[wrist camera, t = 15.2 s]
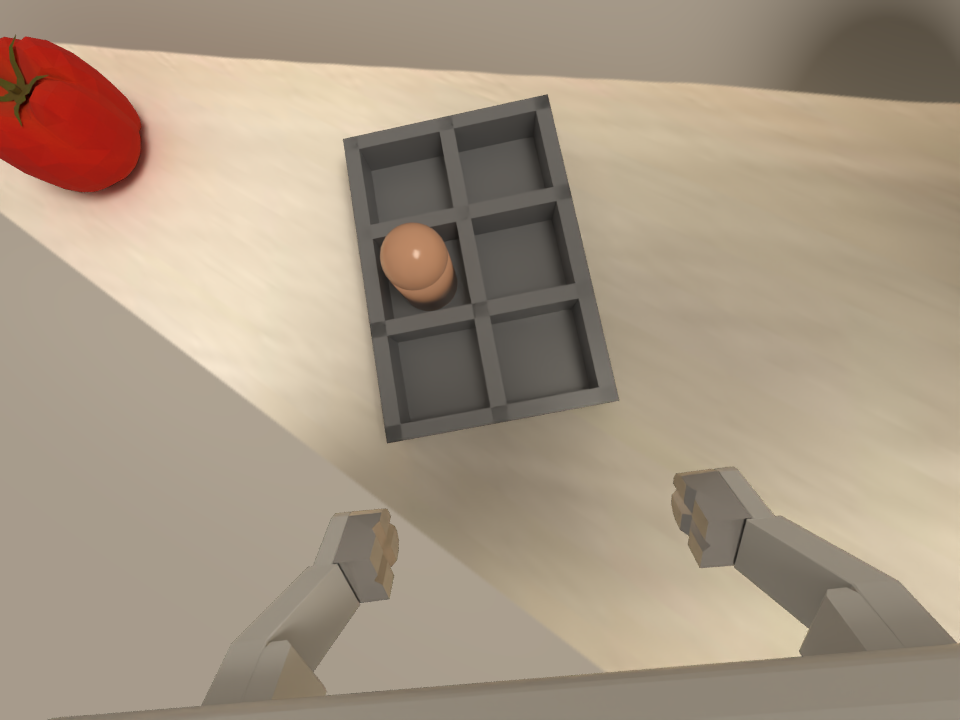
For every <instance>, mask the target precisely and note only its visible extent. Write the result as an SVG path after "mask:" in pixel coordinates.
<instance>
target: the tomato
mask: <svg viewBox="0 0 960 720" xmlns="http://www.w3.org/2000/svg"><path fill="white" fill-rule="evenodd" d="M15 38H16V36H15V37H14V38H8V37H3V38H0V159H2V160H4V161H5V162H7V163H9V164H11V165H12V166H14V167H16V168H17V169H19V170H21V171H22V172H24V173H26V174H28V175H31V176H33V177H36V178H38V179H40V180H43V181H45V182H48V183H50V184H53V185H56V186H58V187H61V188H64V189H68V190H73V191H78V192H95V191H98V190H101V189H104V188H107V187H109V186H111V185H113V184H115V183H117V182H118V181H120V180H122V179H124V178H126V177H127V176H128V175H129V174H130V172H131V171H132V170H133V169H134V168H135V167H136V164H137V161H138V159H139V156H140V141H141V137H140V134H139V131H140V129H141V123H140V118H139V116H138V114H137V112H136V110H135V109H134V108H133V106H132V105H131V103H130V102H129V100H128V99H127V98H126V97H125V96H124V95H123V94H122V93H121V92H120V91H119V90H118V89H117V88H116V87H115V86H114V85H113V84H112V83H111V82H110V81H109V80H107V79H106V78H105V77H104V76H103V75H102V74H101V73H99V72H98V71H97V70H96V69H94V68H93V67H92V66H90V65H89V64H87V63H86V62H85V61H83V60H82V59H80V58H79V57H78V56H76V55H75V54H74V53H72V52H70V51H68V50H66V49H64V48H62V47H59V46H57V45H55V44H53V43H51V42H49V41H47V40H41V39H36V38H31V37H24V38H23V39H22V40H19V39H15Z"/></svg>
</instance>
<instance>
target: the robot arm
mask: <svg viewBox="0 0 960 720" xmlns="http://www.w3.org/2000/svg"><path fill="white" fill-rule="evenodd" d="M673 484H674V486H675V488H676V491H675V492H674V493H673V494H672V499H671V505H672V511H673V515H674V517H675V520H676V523H677V525H678V527H679V529H680V530H681V531H683V532H684V533H686V534H687V535H688V536H689V539H688V546H689V548H690V550H691V552H692V554H693V556H694V558H695V560H696V562H697V563H698V565H699V567H700V568H707V567H721V566H734V568H736V569H737V570H738V571H739V572H740V573H742V574H743V575H744V576H745V577H747V578H748V579H749V580H750V581H751V582H753V583H754V584H755V585H756V586H757V587H759V588H760V589H761V590H762V591H764V592H765V593H766V594H767V595H768V596H770V597H771V598H772V599H773V600H775V601H776V602H777V603H778V604H779V605H781V606H782V607H783V608H784V609H785V610H787V611H788V612H789V613H790V614H792V615H793V616H794V617H795V618H796V619H798V620H799V621H800V622H801V623H802V624H804V625H805V626H806V627H807V628H809V630H808V632H807V634H806V636H805V638H804V640H803V643H802V645H801V647H800V650H799V652H800V654H801V655H802V656H801V657H789V658H777V659H765V660H752V661H740V662H728V663H716V664H704V665H691V666H679V667H667V668H655V669H642V670H630V671H618V672H606V673H594V674H581V675H569V676H558V677H545V678H533V679H521V680H509V681H496V682H484V683H472V684H460V685H449V686H436V687H424V688H411V689H399V690H387V691H375V692H363V693H351V694H340V695H328V696H325V695H326V689H325V687H324V685H323V684H322V683H321V681H320V680H319V679H318V677H317V676H316V675H315V674H314V673H313V672H314V670H315V669H316V668H317V666H318V665H319V663H320V662H321V660H322V659H323V657H324V656H325V655H326V653H327V652H328V650H329V649H330V647H331V646H332V645H333V643H334V642H335V640H336V639H337V637H338V636H339V635H340V633H341V632H342V630H343V629H344V627H345V626H346V624H347V623H348V622H349V620H350V619H351V617H352V616H353V614H354V613H355V612H356V610H357V609H358V607H359V606H360V604H359V603H364V602H371V601H379V600H387V599H390V594H391V588H392V584H393V578H394V574H393V572H392V570H391V567H392V566H393V564H394V563H395V562H396V561H397V557H398V551H399V550H398V549H399V539H398V534H397V530H396V528H395V526H394V525H392V524H390V523H389V522H390V518H391V516H390V514H389V511H388V509H374V510H363V511H352V512H344V513H335V515H334V516H333V517H332V518H331V520H330V523H329V525H328V528H327V531H326V533H325V536H324V539H323V541H322V544H321V546H320V549H319V552H318V554H317V557H316V559H315V562H314V565H313V566H311V567H307V568H306V569H305V570H304V571H303V572H302V574H300V575H299V576H298V577H297V578H296V579H295V580H294V581H293V582H292V583H291V584H290V585H289V587H287V588H286V589H285V590H284V591H283V592H282V593H281V594H280V596H278V597H277V598H276V600H274V602H272V603H271V604H270V605H269V606H268V607H267V608H266V610H264V611H263V612H262V613H261V614H260V615H259V616H258V617H257V618H256V620H254V621H253V622H252V623H251V624H250V625H249V626H248V627H247V628H246V629H245V630H244V631H243V633H241V635H239V636H238V638H236V639H235V640H234V641H233V642H232V644H231V646H230V647H229V650H228V652H227V654H226V656H225V658H224V660H223V662H222V664H221V666H220V668H219V670H218V672H217V674H216V676H215V678H214V681H213V682H212V685H211V687H210V689H209V691H208V693H207V695H206V697H205V699H204V701H203V703H202V705H201V706H194V707H182V708H169V709H157V710H145V711H133V712H121V713H108V714H96V715H83V716H70V717H59V718H52V719H48V720H960V643H957V642H956V641H955V640H954V639H953V638H952V637H951V636H950V635H949V634H948V633H947V632H946V631H945V630H944V629H943V627H942V626H941V625H940V624H939V623H938V622H937V621H936V620H935V619H934V618H933V617H932V616H931V615H930V614H929V613H928V612H927V610H926V609H925V608H924V607H923V606H922V605H921V604H920V603H919V602H918V601H917V600H916V599H915V598H914V597H913V596H912V595H911V593H910V592H909V591H908V590H907V589H906V588H905V587H904V586H903V585H902V584H901V583H900V582H899V581H898V580H896V579H894V578H892V577H891V576H889V575H887V574H885V573H883V572H882V571H880V570H878V569H876V568H874V567H873V566H871V565H869V564H867V563H865V562H864V561H862V560H860V559H858V558H856V557H855V556H853V555H851V554H849V553H847V552H846V551H844V550H842V549H840V548H838V547H837V546H835V545H833V544H831V543H829V542H828V541H826V540H824V539H822V538H820V537H819V536H817V535H815V534H813V533H811V532H810V531H808V530H806V529H804V528H802V527H801V526H799V525H797V524H795V523H793V522H792V521H790V520H788V519H786V518H785V517H783V516H775V515H774V514H773V513H772V512H771V510H770V509H769V508H768V507H767V505H766V504H765V503H764V501H763V500H762V499H761V498H760V496H759V495H758V494H757V493H756V491H755V490H754V489H753V488H752V486H751V485H750V484H749V483H748V481H747V480H746V479H745V477H744V476H743V475H742V474H741V472H740V471H739V470H738V469H737V468H735V467H734V466H733V467H725V468H717V469H707V470H699V471H691V472H684V473H676V474H675V476H674V480H673Z"/></svg>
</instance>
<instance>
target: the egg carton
mask: <svg viewBox="0 0 960 720" xmlns="http://www.w3.org/2000/svg"><path fill="white" fill-rule="evenodd" d="M343 142H344V149H345V156H346V163H347V169H348V176H349V183H350V190H351V197H352V204H353V211H354V218H355V225H356V232H357V239H358V245H359V252H360V259H361V266H362V273H363V280H364V287H365V294H366V301H367V308H368V314H369V321H370V328H371V335H372V342H373V349H374V356H375V363H376V370H377V377H378V384H379V390H380V397H381V404H382V411H383V418H384V425H385V432H386V439H387V443H391V442H397V441H402V440H408V439H413V438H419V437H424V436H430V435H435V434H440V433H446V432H451V431H457V430H462V429H468V428H473V427H478V426H484V425H489V424H495V423H500V422H506V421H511V420H516V419H522V418H527V417H533V416H538V415H544V414H549V413H555V412H560V411H565V410H571V409H576V408H582V407H587V406H593V405H598V404H603V403H609V402H614V401H619V397H618V393H617V389H616V384H615V380H614V376H613V372H612V367H611V363H610V359H609V354H608V350H607V346H606V342H605V337H604V333H603V329H602V325H601V320H600V316H599V312H598V307H597V303H596V299H595V295H594V290H593V286H592V282H591V278H590V273H589V269H588V265H587V261H586V256H585V252H584V248H583V243H582V239H581V235H580V231H579V226H578V222H577V218H576V214H575V209H574V205H573V201H572V196H571V192H570V188H569V184H568V179H567V175H566V171H565V167H564V162H563V158H562V154H561V149H560V145H559V141H558V137H557V132H556V128H555V124H554V120H553V115H552V111H551V107H550V102H549V98H548V94H547V95H543V96H538V97H533V98H529V99H524V100H520V101H515V102H510V103H506V104H501V105H497V106H492V107H488V108H483V109H478V110H474V111H469V112H465V113H460V114H456V115H451V116H446V117H442V118H437V119H433V120H428V121H424V122H419V123H414V124H410V125H405V126H401V127H396V128H392V129H387V130H382V131H378V132H373V133H369V134H364V135H360V136H355V137H350V138H346V139H343ZM405 223H421V224H424V225H427V226H429V227H430V228H432V229H433V230H435V231H436V232H437V233H438V234H439V235H440V236H441V238H442V239H443V241H444V243H445V245H446V248H447V250H448V253H449V256H450V258H451V261H452V264H453V267H454V269H455V272H456V275H457V280H458V286H457V291H456V293H455V296H454V297H453V299H452V300H451V301H450V302H449V303H448V304H447V305H446V306H444V307H442V308H440V309H438V310H434V311H424V310H420V309H417V308H416V307H414V306H412V305H411V304H410V303H409V302H408V301H407V300H406V299H405V297H404V296H403V295H402V294H401V293H400V292H399V291H398V289H397V288H396V287H395V286H394V285H393V284H392V283H391V282H390V280H389V279H388V278H387V276H386V275H385V273H384V271H383V269H382V266H381V262H380V250H381V246H382V243H383V241H384V239H385V237H386V236H387V234H388V233H389V232H390V231H391V230H392V229H394V228H395V227H397V226H399V225H401V224H405Z"/></svg>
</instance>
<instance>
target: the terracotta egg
mask: <svg viewBox="0 0 960 720" xmlns="http://www.w3.org/2000/svg"><path fill="white" fill-rule="evenodd" d="M380 262H381V266H382V269H383V271H384V273H385V275H386V276H387V278H388V279H389V280H390V282H391V283H392V284H393V285H394V286H395V287H396V288H397V289H398V291H399V292H400V293H401V294H402V295H403V296H404V297H405V299H406V300H407V301H408V302H409V303H410V304H411V305H412V306H414V307H416V308H417V309H420V310H424V311H434V310H438V309H440V308H442V307H444V306H446V305H447V304H448V303H449V302H450V301H451V300H452V299H453V297H454V296H455V293H456V291H457V286H458V280H457V275H456V272H455V269H454V267H453V264H452V261H451V258H450V256H449V253H448V250H447V248H446V245H445V243H444V241H443V239H442V238H441V236H440V235H439V234H438V233H437V232H436V231H435V230H433V229H432V228H430V227H429V226H427V225H424V224H421V223H405V224H401V225H399V226H397V227H395V228H394V229H392V230H391V231H390V232H389V233H388V234H387V236H386V237H385V239H384V241H383V243H382V246H381V250H380Z"/></svg>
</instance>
